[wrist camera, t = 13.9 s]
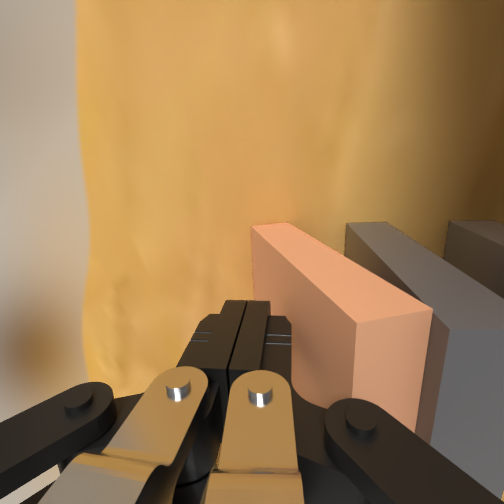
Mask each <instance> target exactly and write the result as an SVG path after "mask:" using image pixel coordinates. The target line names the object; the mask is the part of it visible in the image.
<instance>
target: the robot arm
mask: <svg viewBox="0 0 504 504" xmlns="http://www.w3.org/2000/svg"><path fill="white" fill-rule="evenodd" d="M291 370H292V324H291V323H290V322H289V320H288V319H287V318H286V316H275V315H271V304H270V301H256V300H249V301H247V300H226V301H225V303H224V306H223V308H222V310H221V312H220V314H209V315H208V316H207V317H206V318H204V319H203V320H202V321H200V323H199V325H198V327H197V328H196V330H195V333H194V334H193V336H192V338H191V341H190V342H189V344H188V345H187V347H186V349H185V351H184V353H183V355H182V357H181V359H180V360H179V362H178V364H177V366H176V368H173V369H170V370H167V371H165V372H163V373H162V374H160V375H159V376H157V377H156V378H155V379H154V380H153V382H152V383H151V384H150V386H149V387H148V389H147V390H146V391H145V393H141V394H136V395H131V396H126V397H121V398H115V399H114V396H113V391H112V389H111V387H110V386H109V385H107V384H105V383H102V382H88V383H84V384H80V385H77V386H75V387H72V388H70V389H68V390H66V391H64V392H62V393H60V394H58V395H56V396H54V397H52V398H50V399H48V400H46V401H43V402H42V403H39V404H38V405H36V406H33V407H31V408H29V409H27V410H25V411H23V412H21V413H19V414H17V415H15V416H13V417H11V418H9V419H7V420H5V421H3V422H1V423H0V499H2V498H3V497H5V496H7V495H8V494H9V493H11V492H13V491H15V490H16V489H18V488H19V487H21V486H23V485H24V484H26V483H27V482H29V481H31V480H32V479H34V478H36V477H37V476H39V475H40V474H42V473H43V472H45V471H47V470H48V469H50V468H52V467H53V466H55V465H56V464H57V465H58V468H59V471H60V476H59V477H58V478H57V480H55V481H54V482H52V483H51V484H49V485H48V486H46V487H44V488H43V489H42V490H40V491H39V492H37V493H35V494H34V495H32V496H31V497H29V498H28V499H26V500H25V501H23V502H21V503H20V504H504V502H503V501H502V500H500V499H499V498H498V497H497V496H495V495H494V494H493V493H491V492H490V491H489V490H487V489H486V488H485V487H484V486H482V485H481V484H480V483H478V482H477V481H476V480H474V479H473V478H472V477H471V476H469V475H468V474H467V473H465V472H464V471H463V470H462V469H460V468H459V467H458V466H456V465H455V464H454V463H452V462H451V461H450V460H449V459H447V458H446V457H445V456H443V455H442V454H441V453H439V452H438V451H437V450H436V449H434V448H433V447H432V446H430V445H429V444H428V443H427V442H425V441H424V440H423V439H421V438H420V437H419V436H417V435H416V434H415V433H414V432H412V431H411V430H410V429H408V428H407V427H406V426H405V425H403V424H402V423H401V422H399V421H398V420H397V419H395V418H394V417H393V416H392V415H390V414H389V413H388V412H386V411H385V410H384V409H382V408H381V407H379V406H378V405H376V404H374V403H372V402H369V401H367V400H363V399H357V398H346V399H341V400H338V401H336V402H334V403H333V404H332V405H331V406H330V407H329V408H328V409H326V408H323V407H320V406H317V405H315V404H312V403H310V402H308V401H306V400H305V399H303V398H302V397H301V396H300V395H299V394H298V393H297V392H296V391H295V389H294V388H293V385H292V382H291ZM220 443H222V446H221V452H220V458H219V464H218V468H217V465H216V459H217V455H218V451H219V447H220Z"/></svg>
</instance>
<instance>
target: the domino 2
mask: <svg viewBox="0 0 504 504" xmlns="http://www.w3.org/2000/svg"><path fill="white" fill-rule="evenodd" d="M345 257H346V258H348V259H350V260H352V261H353V262H355V263H357V264H358V265H360V266H362V267H363V268H365V269H367V270H368V271H370V272H372V273H373V274H375V275H377V276H378V277H380V278H382V279H384V280H385V281H387V282H389V283H390V284H392V285H394V286H395V287H397V288H399V289H400V290H402V291H404V292H405V293H407V294H409V295H410V296H412V297H414V298H416V299H417V300H419V301H421V302H422V303H424V304H426V305H427V306H429V307H431V308H432V309H433V314H432V320H431V327H430V334H429V340H428V347H427V354H426V361H425V367H424V374H423V381H422V388H421V394H420V401H419V408H418V415H417V421H416V428H415V434H416V435H417V436H419V437H420V438H421V439H423V440H424V441H425V442H427V443H428V444H429V445H430V446H432V447H433V448H434V449H436V450H437V451H438V452H439V453H441V454H442V455H443V456H445V457H446V458H447V459H449V460H450V461H451V462H452V463H454V464H455V465H456V466H458V467H459V468H460V469H462V470H463V471H464V472H465V473H467V474H468V475H469V476H471V477H472V478H473V479H474V480H476V481H477V482H478V483H480V484H481V485H482V486H484V487H485V488H486V489H487V490H489V491H490V492H491V493H493V494H494V495H495V496H497V497H498V498H499V499H500V500H501V498H502V494H503V491H504V299H503V298H501V297H500V296H498V295H497V294H495V293H494V292H492V291H491V290H489V289H488V288H486V287H485V286H483V285H482V284H480V283H479V282H477V281H476V280H474V279H472V278H471V277H469V276H468V275H466V274H465V273H463V272H462V271H460V270H459V269H457V268H456V267H454V266H453V265H451V264H450V263H448V262H447V261H445V260H444V259H442V258H440V257H439V256H437V255H436V254H434V253H433V252H431V251H430V250H428V249H427V248H425V247H424V246H422V245H421V244H419V243H418V242H416V241H415V240H413V239H412V238H410V237H408V236H407V235H405V234H404V233H402V232H401V231H399V230H398V229H396V228H395V227H393V226H392V225H390V224H389V223H387V222H369V223H346V242H345Z"/></svg>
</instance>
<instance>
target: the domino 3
mask: <svg viewBox="0 0 504 504" xmlns="http://www.w3.org/2000/svg"><path fill="white" fill-rule="evenodd" d="M443 259H444V260H445V261H447V262H448V263H450V264H451V265H453V266H454V267H456V268H457V269H459V270H460V271H462V272H463V273H465V274H466V275H468V276H469V277H471V278H472V279H474V280H476V281H477V282H479V283H480V284H482V285H483V286H485V287H486V288H488V289H489V290H491V291H492V292H494V293H495V294H497V295H498V296H500V297H501V298H503V299H504V224H502V223H500V222H497V221H494V220H470V221H449V225H448V232H447V239H446V245H445V252H444V258H443Z"/></svg>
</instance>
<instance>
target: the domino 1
mask: <svg viewBox="0 0 504 504" xmlns="http://www.w3.org/2000/svg"><path fill="white" fill-rule="evenodd" d="M251 241H252V261H253V282H254V300H256V301H270V304H271V315H275V316H286V318H287V319H288V320H289V322H290V323H291V324H292V370H291V382H292V385H293V388H294V389H295V391H296V392H297V393H298V394H299V395H300V396H301V397H302V398H303V399H305V400H306V401H308V402H310V403H312V404H315V405H317V406H320V407H323V408H326V409H328V408H329V407H330V406H331V405H332V404H333V403H334V402H336V401H338V400H341V399H346V398H357V399H363V400H367V401H369V402H372V403H374V404H376V405H378V406H379V407H381V408H382V409H384V410H385V411H386V412H388V413H389V414H390V415H392V416H393V417H394V418H395V419H397V420H398V421H399V422H401V423H402V424H403V425H405V426H406V427H407V428H408V429H410V430H411V431H412V432H414V433H415V428H416V421H417V415H418V408H419V401H420V394H421V388H422V381H423V374H424V367H425V361H426V354H427V347H428V340H429V334H430V327H431V320H432V314H433V309H432V308H431V307H429V306H427V305H426V304H424V303H422V302H421V301H419V300H417V299H416V298H414V297H412V296H410V295H409V294H407V293H405V292H404V291H402V290H400V289H399V288H397V287H395V286H394V285H392V284H390V283H389V282H387V281H385V280H384V279H382V278H380V277H378V276H377V275H375V274H373V273H372V272H370V271H368V270H367V269H365V268H363V267H362V266H360V265H358V264H357V263H355V262H353V261H352V260H350V259H348V258H346V257H345V256H343V255H341V254H340V253H338V252H336V251H335V250H333V249H331V248H330V247H328V246H326V245H325V244H323V243H321V242H320V241H318V240H316V239H314V238H313V237H311V236H309V235H308V234H306V233H304V232H303V231H301V230H299V229H298V228H296V227H294V226H293V225H291V224H289V223H288V222H286V223H276V224H267V225H257V226H251Z"/></svg>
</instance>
